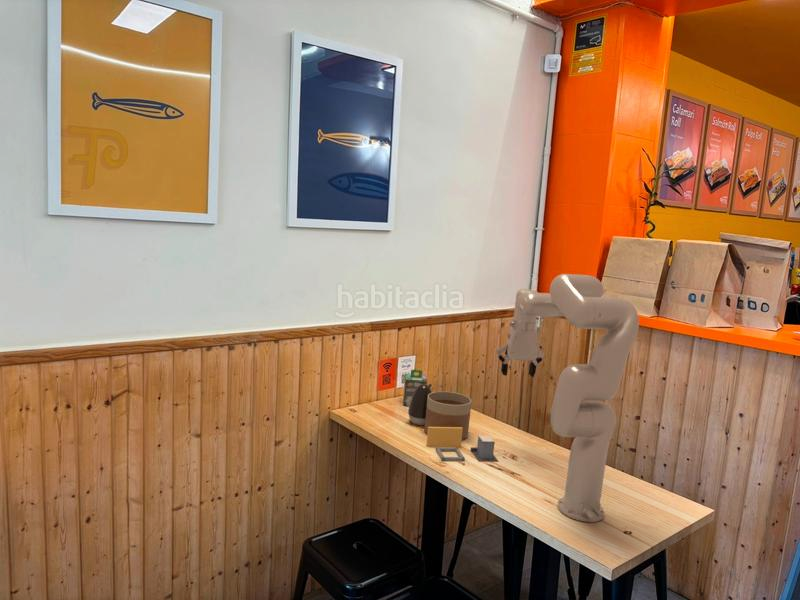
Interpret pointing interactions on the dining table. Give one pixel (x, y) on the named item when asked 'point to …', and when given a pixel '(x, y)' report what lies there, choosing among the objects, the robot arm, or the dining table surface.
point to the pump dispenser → (419, 404)
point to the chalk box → (412, 385)
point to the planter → (448, 411)
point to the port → (445, 441)
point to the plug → (485, 447)
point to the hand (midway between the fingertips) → (517, 375)
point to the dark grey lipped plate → (474, 451)
